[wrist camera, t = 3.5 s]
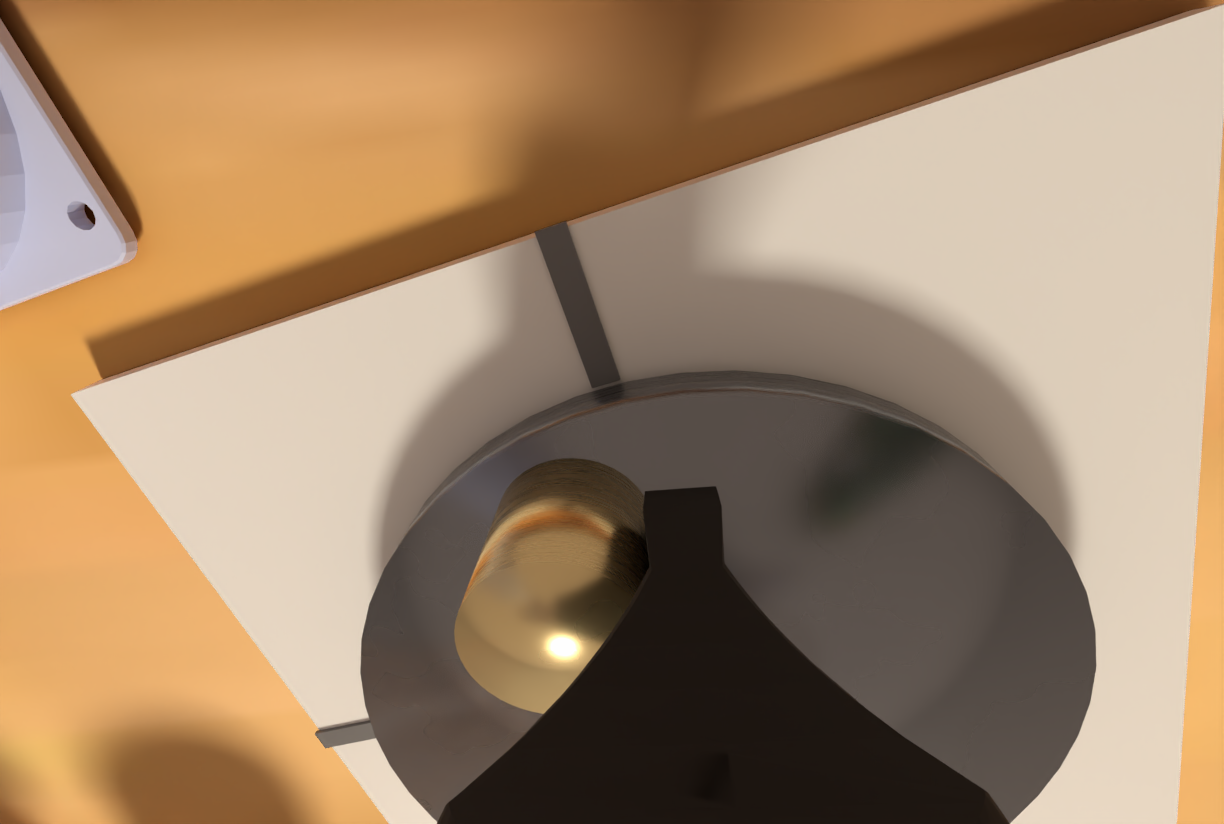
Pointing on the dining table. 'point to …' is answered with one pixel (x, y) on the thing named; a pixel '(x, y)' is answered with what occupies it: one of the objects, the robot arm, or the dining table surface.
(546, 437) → the handwheel
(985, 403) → the wheel base
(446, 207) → the dining table surface
